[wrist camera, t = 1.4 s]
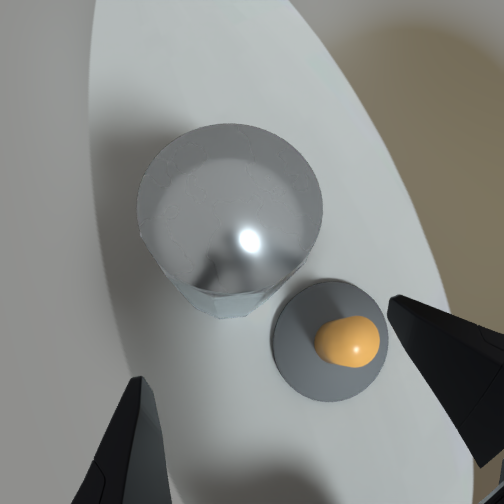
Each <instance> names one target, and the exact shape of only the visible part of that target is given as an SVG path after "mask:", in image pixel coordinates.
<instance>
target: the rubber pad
mask: <svg viewBox="0 0 504 504" xmlns="http://www.w3.org/2000/svg"><path fill="white" fill-rule="evenodd" d="M352 316H363V317H366V318H368V319H369V320H371V321H372V322H373V323H374V325H375V326H376V328H377V330H378V332H379V337H380V344H379V349H378V352H377V354H376V355H375V357H374V358H373V359H372V361H370V362H369V363H368V364H366V365H364V366H362V367H356V368H354V367H347V366H341V365H336V364H330V363H327V362H325V361H323V360H322V359H321V358H320V357H319V356H318V355H317V353H316V350H315V346H314V340H315V336H316V333H317V331H318V330H319V328H320V327H321V326H322V325H324V324H325V323H327V322H329V321H334V320H338V319H343V318H347V317H352ZM387 350H388V330H387V325H386V321H385V318H384V316H383V314H382V311H381V310H380V308H379V306H378V305H377V304H376V302H375V301H374V300H373V299H372V298H371V297H370V296H369V295H368V294H367V293H365V292H364V291H363V290H361V289H359V288H357V287H356V286H353V285H350V284H347V283H343V282H324V283H319V284H316V285H313V286H311V287H309V288H307V289H305V290H303V291H302V292H300V293H299V294H297V295H296V296H295V297H294V298H293V299H292V300H291V301H290V302H289V303H288V304H287V305H286V307H285V308H284V310H283V311H282V313H281V315H280V317H279V319H278V321H277V324H276V327H275V331H274V337H273V352H274V357H275V361H276V364H277V367H278V369H279V371H280V373H281V375H282V376H283V378H284V379H285V381H286V382H287V383H288V384H289V385H290V386H291V387H292V388H293V389H294V390H296V391H297V392H298V393H300V394H302V395H303V396H305V397H308V398H310V399H313V400H317V401H322V402H336V401H342V400H345V399H348V398H351V397H353V396H355V395H357V394H359V393H360V392H362V391H363V390H364V389H366V388H367V387H368V386H369V385H370V384H371V383H372V382H373V381H374V379H375V378H376V377H377V375H378V374H379V372H380V370H381V369H382V366H383V364H384V362H385V358H386V355H387Z"/></svg>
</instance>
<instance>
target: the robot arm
mask: <svg viewBox="0 0 504 504" xmlns="http://www.w3.org/2000/svg"><path fill="white" fill-rule="evenodd" d="M387 318H388V320H389V322H390V324H391V326H392V327H393V329H394V331H395V333H396V335H397V336H398V338H399V340H400V342H401V344H402V346H403V347H404V349H405V351H406V352H407V354H408V355H409V357H410V358H411V360H412V361H413V363H414V364H415V365H416V367H417V368H418V370H419V371H420V373H421V374H422V376H423V377H424V379H425V380H426V382H427V383H428V385H429V386H430V388H431V389H432V391H433V392H434V394H435V395H436V397H437V399H438V400H439V402H440V403H441V405H442V406H443V408H444V409H445V411H446V413H447V414H448V416H449V417H450V419H451V421H452V422H453V424H454V425H455V427H456V429H458V432H459V434H460V435H461V437H462V439H463V440H464V442H465V444H466V445H467V447H468V449H469V451H470V452H471V454H472V456H473V457H474V459H475V461H476V463H477V464H478V466H479V467H480V468H482V467H483V466H484V465H486V464H487V463H488V462H489V461H490V460H492V459H493V458H494V457H495V456H496V455H497V454H499V453H500V452H501V451H502V450H503V449H504V334H501V333H498V332H495V331H493V330H490V329H487V328H485V327H482V326H480V325H478V326H477V324H475V323H472V322H469V321H467V320H464V319H462V318H459V317H457V316H454V315H452V314H449V313H447V312H444V311H442V310H439V309H436V308H434V307H431V306H429V305H426V304H424V303H421V302H419V301H416V300H413V299H411V298H408V297H406V296H403V295H396V296H394V297H391V298H390V300H389V305H388V311H387ZM71 504H172V501H171V495H170V489H169V482H168V476H167V468H166V461H165V453H164V445H163V437H162V431H161V426H160V422H159V418H158V413H157V408H156V404H155V399H154V394H153V391H152V389H151V388H150V386H149V385H148V383H147V382H146V380H145V378H144V377H143V376H138V377H133V378H131V379H130V381H129V383H128V385H127V387H126V389H125V391H124V393H123V395H122V397H121V400H120V402H119V404H118V406H117V408H116V410H115V412H114V414H113V417H112V419H111V421H110V423H109V425H108V427H107V430H106V432H105V434H104V436H103V438H102V441H101V443H100V445H99V447H98V450H97V452H96V454H95V456H94V460H93V461H92V463H91V465H90V468H89V470H88V472H87V474H86V476H85V479H84V481H83V483H82V484H81V486H80V488H79V490H78V492H77V494H76V496H75V497H74V499H73V501H72V503H71ZM479 504H504V459H503V461H502V468H501V475H500V481H499V486H498V487H497V488H495V489H494V490H493V491H492V492H491V493H490V494H489V495H488V496H487V497H485V498H484V499H483V500H482V501H481V502H479Z"/></svg>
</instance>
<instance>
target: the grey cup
mask: <svg viewBox="0 0 504 504" xmlns="http://www.w3.org/2000/svg"><path fill="white" fill-rule="evenodd" d="M136 210H137V221H138V226H139V230H140V237H141V238H142V240H143V241H144V243H145V245H146V247H147V248H148V250H149V252H150V253H151V254H152V256H153V257H154V258H155V260H156V262H157V263H158V265H159V266H160V268H161V269H162V271H163V272H164V274H165V275H166V277H167V278H168V279H169V280H170V281H171V282H172V283H173V285H174V286H175V287H176V288H177V289H178V290H179V291H180V292H181V293H182V294H183V296H184V297H185V298H186V299H187V300H188V301H189V302H190V303H191V304H192V305H193V306H194V307H195V308H196V309H198V310H200V311H203V312H205V313H207V314H209V315H211V316H214V317H216V318H218V319H225V318H234V317H244V316H247V315H248V314H249V313H251V312H252V311H253V310H255V309H256V308H258V307H259V306H260V305H262V304H263V303H264V302H266V301H267V300H268V299H269V298H270V297H271V296H272V295H273V294H274V293H275V292H276V291H277V290H278V289H279V288H280V287H281V286H282V285H283V284H284V283H285V282H286V281H287V280H288V279H289V278H290V277H291V276H292V275H293V274H294V273H295V272H296V271H297V270H298V269H299V268H300V267H301V266H302V265H303V264H304V263H305V262H306V260H307V257H308V255H309V252H310V250H311V249H312V247H313V246H314V243H315V241H316V239H317V237H318V234H319V230H320V227H321V222H322V215H323V202H322V195H321V190H320V187H319V183H318V181H317V178H316V176H315V174H314V172H313V170H312V168H311V167H310V165H309V164H308V162H307V161H306V160H305V158H304V157H303V156H302V155H301V154H300V153H299V152H298V151H297V150H296V149H295V148H294V147H293V146H292V145H290V144H289V143H288V142H287V141H285V140H284V139H282V138H280V137H279V136H277V135H275V134H273V133H271V132H268V131H266V130H263V129H260V128H257V127H254V126H249V125H243V124H216V125H210V126H205V127H201V128H198V129H195V130H193V131H190V132H188V133H186V134H184V135H182V136H180V137H178V138H177V139H175V140H174V141H172V142H171V143H170V144H168V145H167V146H166V147H165V148H163V149H162V150H161V151H160V153H159V154H158V155H157V156H156V157H155V158H154V159H153V161H152V162H151V164H150V165H149V167H148V168H147V170H146V172H145V174H144V176H143V178H142V181H141V183H140V187H139V191H138V195H137V205H136Z"/></svg>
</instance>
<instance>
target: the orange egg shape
mask: <svg viewBox="0 0 504 504" xmlns="http://www.w3.org/2000/svg"><path fill="white" fill-rule="evenodd" d="M379 344H380V337H379V332H378V330H377V328H376V326H375V325H374V323H373V322H372V321H371V320H369V319H368V318H366V317H363V316H352V317H347V318H343V319H338V320H334V321H329V322H327V323H325V324H324V325H322V326H321V327H320V328H319V330H318V331H317V333H316V336H315V340H314V346H315V350H316V353H317V355H318V356H319V357H320V358H321V359H322V360H323V361H325V362H327V363H330V364H336V365H341V366H347V367H354V368H356V367H362V366H364V365H366V364H368V363H369V362H370V361H372V359H373V358H374V357H375V355H376V354H377V352H378V349H379Z"/></svg>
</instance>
